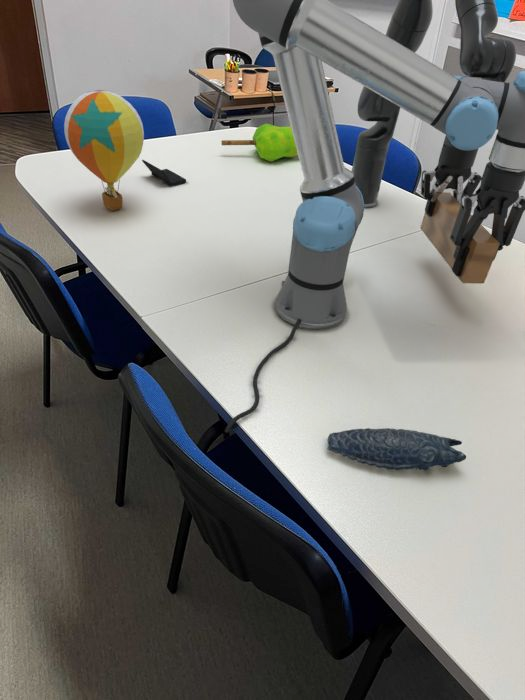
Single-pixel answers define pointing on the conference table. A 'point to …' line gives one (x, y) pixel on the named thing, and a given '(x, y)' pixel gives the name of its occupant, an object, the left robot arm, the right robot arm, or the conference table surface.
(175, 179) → the black angled flat piece
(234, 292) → the conference table surface
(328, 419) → the conference table surface
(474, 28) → the right robot arm
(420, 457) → the fish model
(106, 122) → the toy
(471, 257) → the bar
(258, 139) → the decorative tree
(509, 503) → the conference table surface
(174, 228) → the conference table surface
